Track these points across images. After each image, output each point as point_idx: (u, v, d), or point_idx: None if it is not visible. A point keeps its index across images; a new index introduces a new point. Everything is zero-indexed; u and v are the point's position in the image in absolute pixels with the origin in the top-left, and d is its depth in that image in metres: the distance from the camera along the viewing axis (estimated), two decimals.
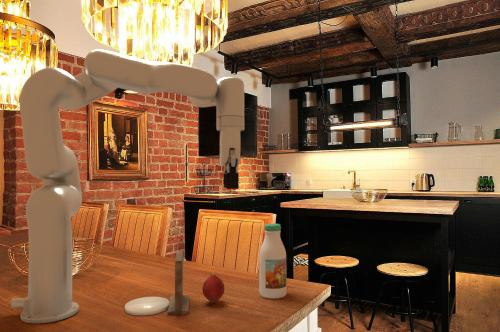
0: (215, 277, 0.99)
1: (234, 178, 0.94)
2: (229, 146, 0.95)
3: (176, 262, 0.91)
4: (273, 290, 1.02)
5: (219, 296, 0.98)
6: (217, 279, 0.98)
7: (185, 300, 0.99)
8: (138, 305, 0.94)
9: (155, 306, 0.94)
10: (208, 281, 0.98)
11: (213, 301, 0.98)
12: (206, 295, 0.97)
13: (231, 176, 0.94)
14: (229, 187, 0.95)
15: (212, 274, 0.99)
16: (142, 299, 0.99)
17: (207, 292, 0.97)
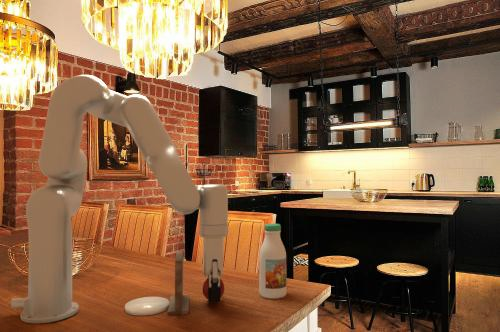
0: None
1: (216, 293, 0.95)
2: (212, 260, 0.94)
3: (176, 262, 0.91)
4: (273, 290, 1.02)
5: None
6: None
7: (185, 300, 0.99)
8: (138, 305, 0.94)
9: (155, 306, 0.94)
10: (208, 280, 0.98)
11: None
12: (206, 295, 0.97)
13: (213, 291, 0.95)
14: (211, 301, 0.96)
15: (212, 274, 0.99)
16: (142, 299, 0.99)
17: (207, 292, 0.97)
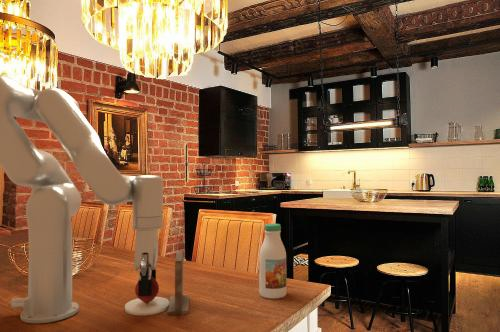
0: None
1: (146, 286, 0.90)
2: (142, 251, 0.91)
3: (176, 262, 0.91)
4: (273, 290, 1.02)
5: (151, 296, 0.94)
6: None
7: (185, 300, 0.99)
8: (138, 305, 0.94)
9: (155, 306, 0.94)
10: None
11: (146, 302, 0.95)
12: None
13: (143, 284, 0.90)
14: (141, 294, 0.91)
15: None
16: None
17: None
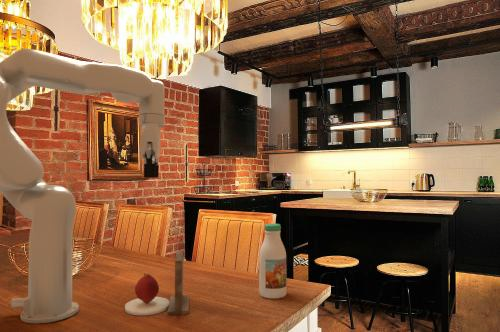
0: (148, 277, 0.95)
1: (150, 168, 1.08)
2: (147, 140, 1.08)
3: (176, 262, 0.91)
4: (273, 290, 1.02)
5: (151, 296, 0.94)
6: (150, 279, 0.95)
7: (185, 300, 0.99)
8: (138, 305, 0.94)
9: (155, 306, 0.94)
10: (141, 280, 0.95)
11: (146, 302, 0.95)
12: (138, 295, 0.94)
13: (148, 167, 1.08)
14: (146, 176, 1.08)
15: (145, 274, 0.96)
16: None
17: (138, 292, 0.94)
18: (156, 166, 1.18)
